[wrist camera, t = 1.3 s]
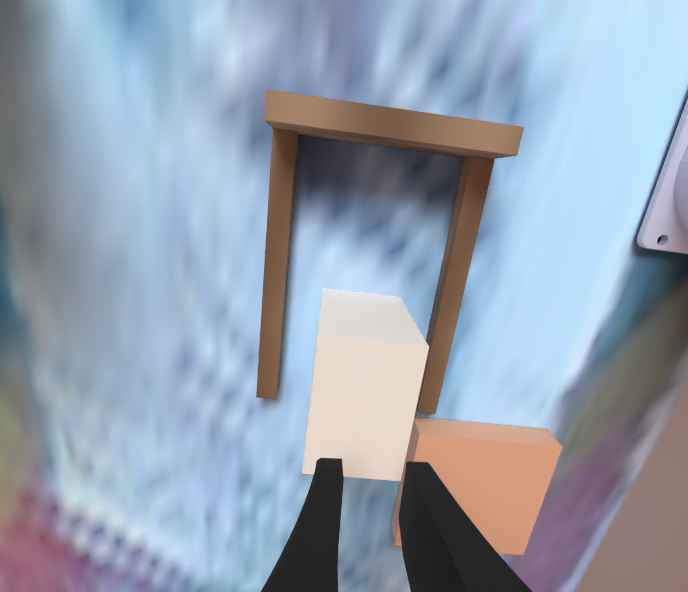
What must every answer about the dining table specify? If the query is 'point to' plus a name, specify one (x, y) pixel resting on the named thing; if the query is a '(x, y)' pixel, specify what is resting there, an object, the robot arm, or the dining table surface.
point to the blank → (364, 384)
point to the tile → (487, 474)
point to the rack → (391, 131)
